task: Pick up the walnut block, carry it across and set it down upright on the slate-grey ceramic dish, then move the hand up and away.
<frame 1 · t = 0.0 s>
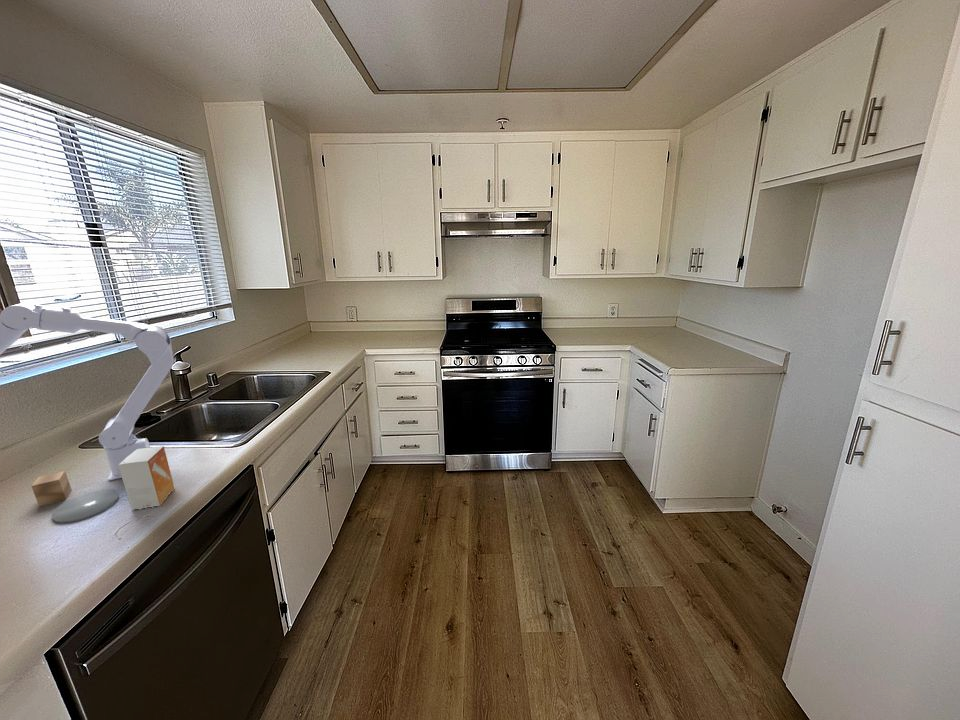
slate dish: (87, 506, 100), on the countertop
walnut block: (56, 498, 103), on the countertop
small box: (154, 500, 102), on the countertop
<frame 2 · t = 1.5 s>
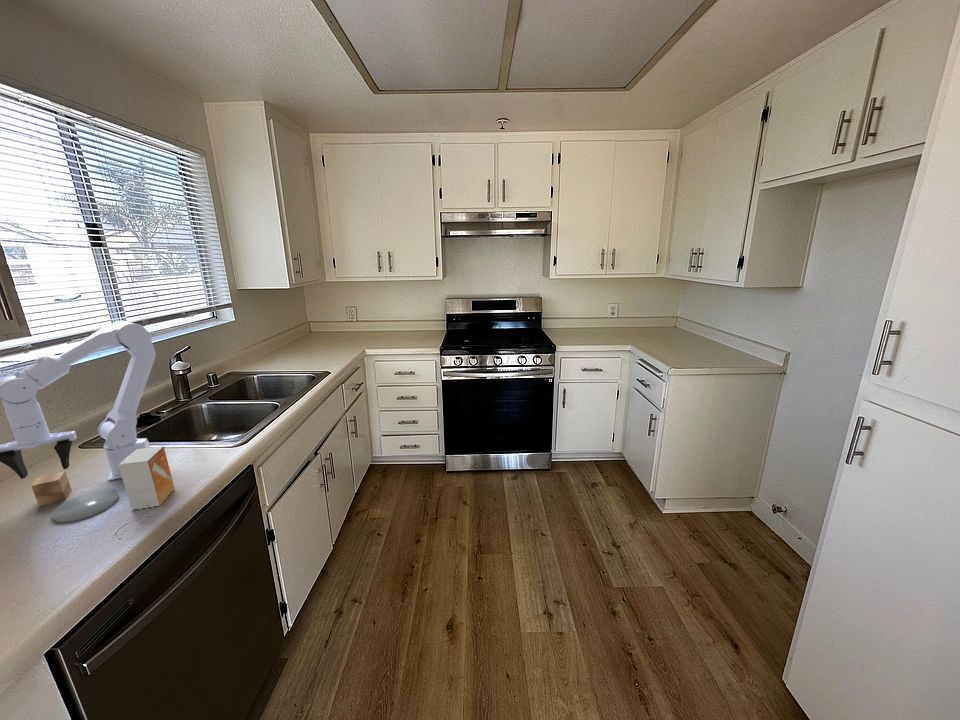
hand: (46, 471, 101), 8 cm above the countertop, tool pointing down, fingers open, 7 cm apart
nothing on the countertop moved.
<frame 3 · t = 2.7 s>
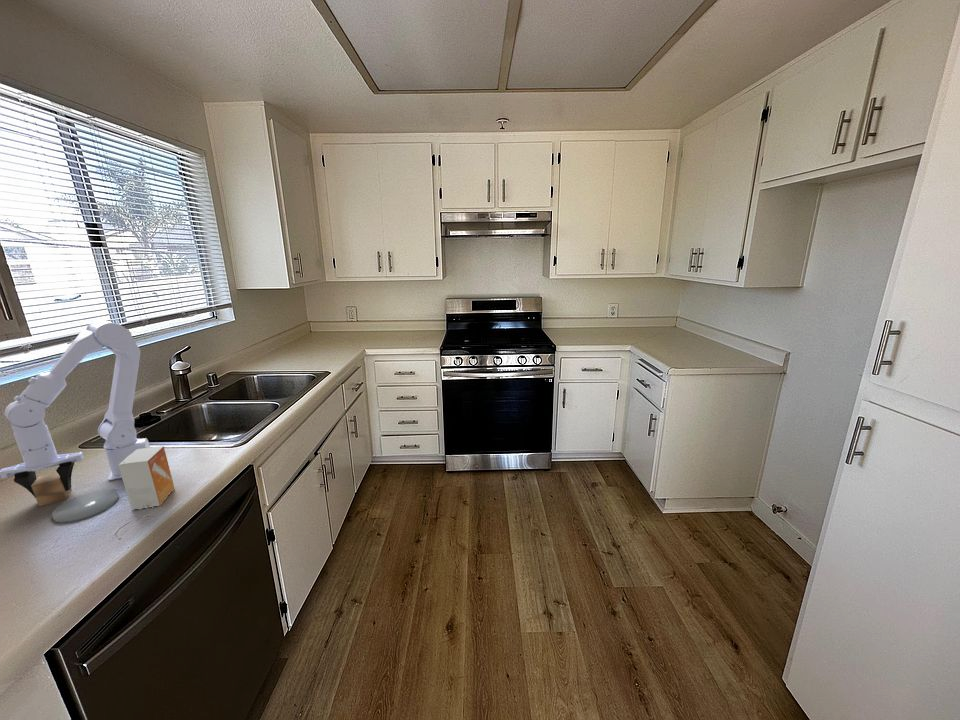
hand: (53, 492, 103), 2 cm above the countertop, tool pointing down, fingers closed on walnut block, 5 cm apart
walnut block: (55, 497, 103), on the countertop, touching gripper
everything else where it was.
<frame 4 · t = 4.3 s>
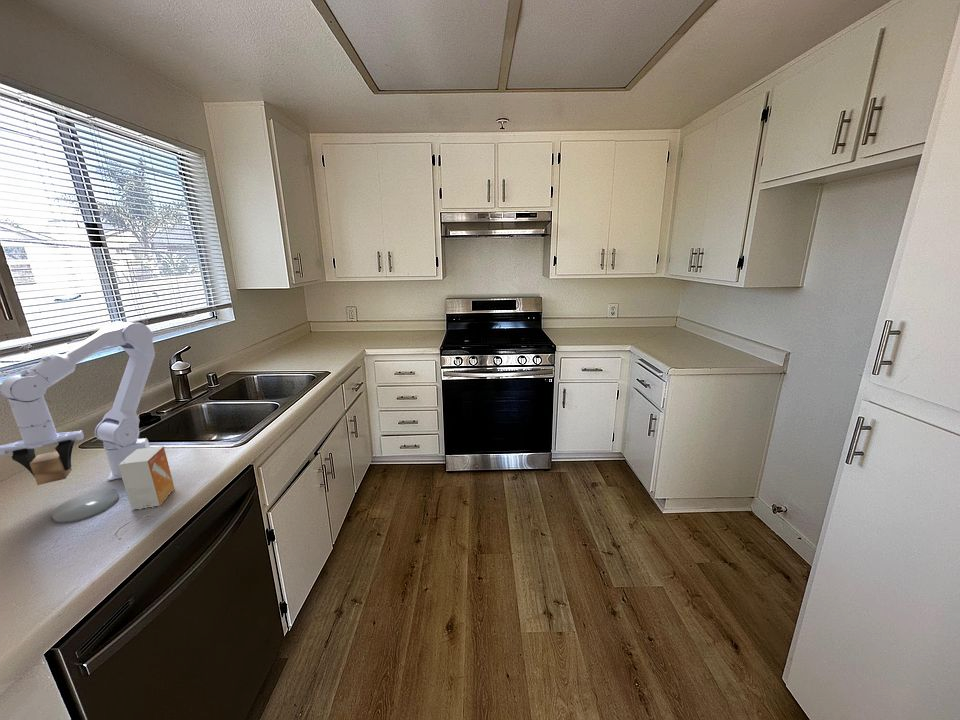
hand: (53, 471, 100), 8 cm above the countertop, tool pointing down, fingers closed on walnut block, 5 cm apart
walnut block: (55, 477, 101), point 7 cm above the countertop, touching gripper
everything else where it was.
when the fingers open (4 cm above the countertop, at t = 6.2 s): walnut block drops 1 cm, resting on slate dish.
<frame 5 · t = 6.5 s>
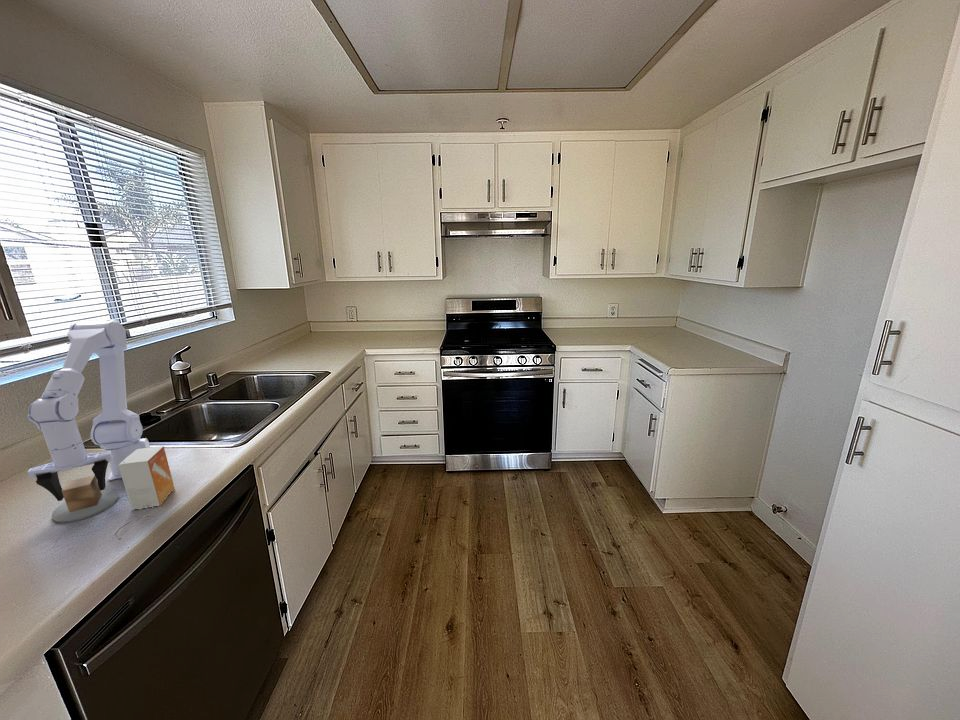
hand: (82, 493, 98), 4 cm above the countertop, tool pointing down, fingers open, 7 cm apart
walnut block: (86, 503, 99), point 1 cm above the countertop, touching slate dish
everything else where it was.
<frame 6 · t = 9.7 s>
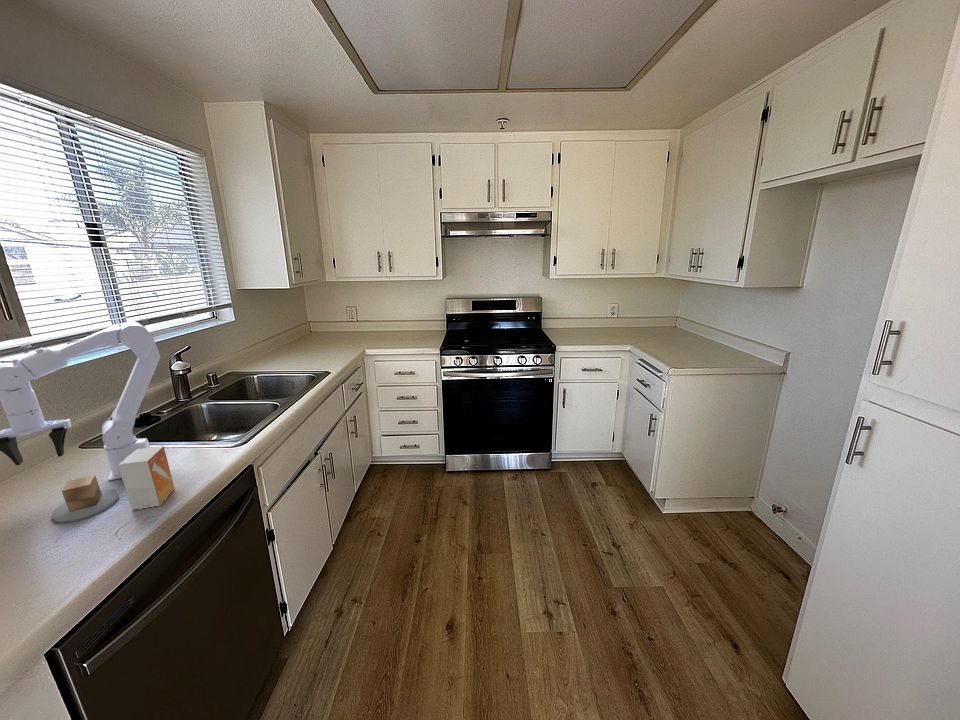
hand: (40, 459, 102), 10 cm above the countertop, tool pointing down, fingers open, 7 cm apart
nothing on the countertop moved.
at the end: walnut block 0.0 cm from the slate dish (horizontally); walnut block point 1.0 cm above the countertop; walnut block tilted 0° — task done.
